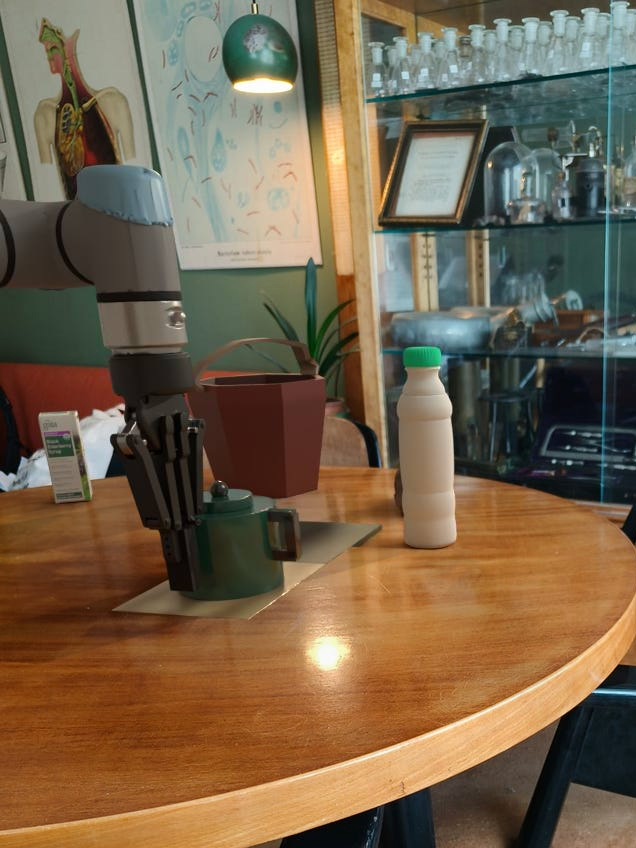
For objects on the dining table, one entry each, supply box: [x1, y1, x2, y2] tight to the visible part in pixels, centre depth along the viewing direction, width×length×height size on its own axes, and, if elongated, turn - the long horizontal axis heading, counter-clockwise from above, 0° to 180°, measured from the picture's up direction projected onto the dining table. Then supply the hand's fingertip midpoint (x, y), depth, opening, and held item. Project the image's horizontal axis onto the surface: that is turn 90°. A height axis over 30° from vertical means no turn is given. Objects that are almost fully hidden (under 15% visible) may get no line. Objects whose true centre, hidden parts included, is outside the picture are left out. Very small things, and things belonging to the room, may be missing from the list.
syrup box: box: [37, 410, 94, 505], centre depth 148 cm, size 6×6×14 cm
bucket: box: [186, 337, 327, 499], centre depth 150 cm, size 24×22×25 cm
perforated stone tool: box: [393, 467, 403, 512], centre depth 137 cm, size 15×5×7 cm, turn 1°
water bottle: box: [396, 346, 457, 550], centre depth 114 cm, size 7×7×25 cm
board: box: [111, 520, 383, 621], centre depth 110 cm, size 16×40×1 cm, turn 166°
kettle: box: [177, 480, 302, 600], centre depth 99 cm, size 18×12×12 cm, turn 76°
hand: (185, 589), depth 92 cm, fingers closed
